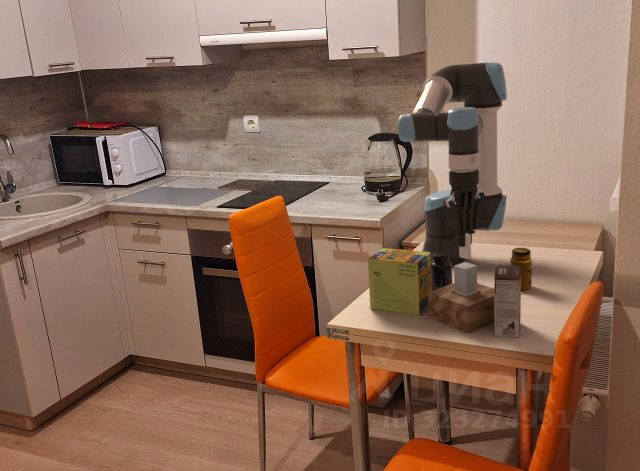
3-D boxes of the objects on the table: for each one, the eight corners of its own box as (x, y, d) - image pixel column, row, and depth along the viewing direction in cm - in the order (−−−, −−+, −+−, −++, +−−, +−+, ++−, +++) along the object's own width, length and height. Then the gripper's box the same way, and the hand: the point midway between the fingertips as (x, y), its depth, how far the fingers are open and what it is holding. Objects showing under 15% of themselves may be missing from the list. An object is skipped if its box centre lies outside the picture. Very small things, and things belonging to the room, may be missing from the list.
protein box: (420, 316, 186) (418, 263, 181) (369, 309, 193) (366, 258, 189) (433, 302, 194) (431, 251, 190) (384, 296, 202) (381, 247, 197)
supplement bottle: (435, 285, 207) (434, 248, 203) (456, 288, 203) (455, 251, 200) (425, 293, 201) (424, 255, 198) (446, 296, 198) (445, 258, 194)
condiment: (537, 288, 199) (538, 249, 195) (518, 295, 194) (518, 256, 191) (518, 282, 204) (518, 244, 201) (499, 289, 200) (499, 251, 197)
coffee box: (495, 322, 178) (495, 264, 173) (520, 323, 176) (521, 265, 172) (493, 336, 170) (493, 276, 165) (520, 338, 168) (520, 277, 163)
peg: (466, 318, 179) (465, 269, 175) (455, 314, 182) (454, 265, 178) (477, 314, 181) (477, 265, 177) (465, 310, 184) (465, 262, 181)
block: (429, 317, 184) (428, 292, 182) (465, 303, 191) (464, 279, 189) (467, 333, 173) (467, 306, 170) (503, 317, 180) (503, 291, 178)
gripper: (456, 175, 164) (458, 266, 170) (492, 166, 171) (492, 254, 177) (434, 172, 170) (437, 260, 176) (470, 163, 177) (471, 248, 183)
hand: (465, 257), depth 177 cm, fingers closed
